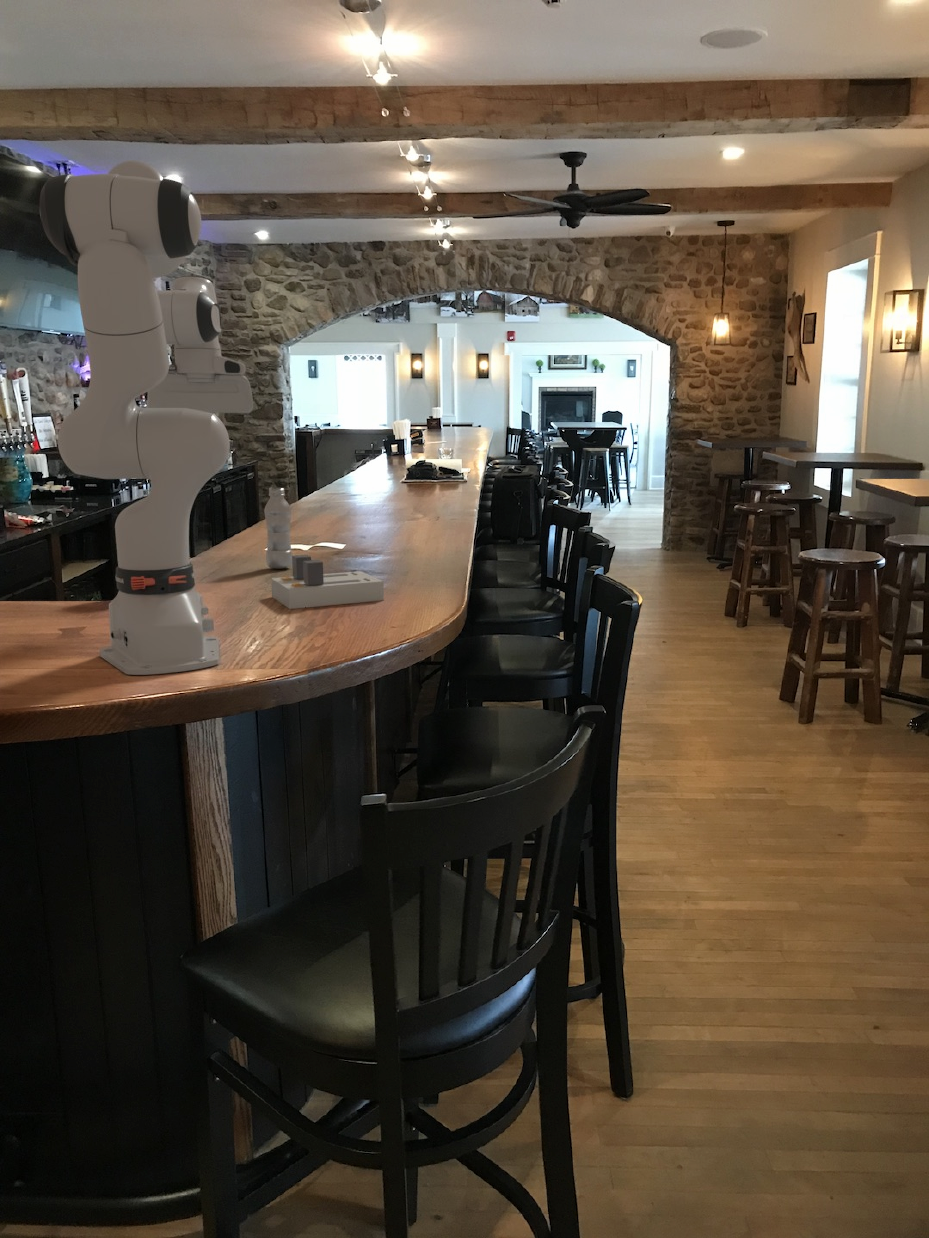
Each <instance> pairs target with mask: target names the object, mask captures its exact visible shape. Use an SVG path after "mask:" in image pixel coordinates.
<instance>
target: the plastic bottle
mask: <svg viewBox="0 0 929 1238" xmlns="http://www.w3.org/2000/svg"><path fill="white" fill-rule="evenodd" d="M268 496H269V500H268V501H267V502H266V504H265V507H264V511H263V512H264V517H265V523H266V524H265V525H266V530H267V548H266V549H267V550H266V555H265V561H266V562H265V563H266V565H267V567H268V568H270V569H275V570H283V569H284V570H285V569H286V568H287V569H288V568H290V567H292V556H294V554H293V551H292V547H291V545H292V543H291V535H290V534H291V533H290V530H291V518H292V517H291V516H292V508H291V506H290V503H288V501H287V500H286V498H285V496H286V493H285V488H284V487H270V488H268Z"/></svg>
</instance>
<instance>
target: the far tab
mask: <svg viewBox="0 0 929 1238" xmlns="http://www.w3.org/2000/svg"><path fill="white" fill-rule="evenodd" d="M310 560H312V556H310V555H308V554H299V555H293V556H292V565H291V567H292V577H294V578H296V579H304V574H303V561H310Z"/></svg>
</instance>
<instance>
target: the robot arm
mask: <svg viewBox="0 0 929 1238" xmlns="http://www.w3.org/2000/svg"><path fill="white" fill-rule="evenodd" d="M197 202H198V201H197V200H196V196H195V194H194V192H193V191H192V190H191V189H190V188H189V187H188V186H186V184H184V183H183V182H179V181H176V180H173V179H169V178H165V177H163V175H162V173H160V171H158V169H156V168H155V167H154V166H152V165H151V164H149V163H146V162H145V161H140V160H126V161H123V162H120V163H117V165H115V166H113V167H112V168H111V169H110V170H109V171H108V173H93V174H82V175H76V176H75V175H74V174H73V173H67V174H62V175H56V176H53V177H50V178H48V179H47V180H46V181H45V182H44V185H43V186H42V188H41V190H40V195H39V215H40V220H41V224H42V227H43V231H44V233H45V235H46V237H47V239H48V240H49V241H50V243H51V245H53V247H54V248H55V249H56V250H58V252H59V253H60V254H63V255H64V256H66V258H67V260H68V261H69V263H70V264H71V265H73V266H74V267H77V286H78V287H77V290H78V301H79V307H80V308H79V309H80V315H81V320H82V321H81V322H82V325H83V331H84V336H85V342H86V347H87V351H88V361H89V371H90V376H89V377H90V379H89V385H88V388H87V391H86V394H85V395H84V397H83V399H82V401H81V403H80V404H79V405H78V407H76V408H75V409H74V410H73V411H71V412H70V413H69V414H68V415H67V416H66V417H65V419H64V420H63V421H62V423H61V425H60V427H59V429H58V434H57V448H58V451H59V455H60V457H61V459H62V461H63V462H64V464H65V465H66V466H67V468H68V469H70V471H71V472H72V473H74V474H77V475H82V476H86V477H91V478H95V479H96V478H97V479H103V480H117V479H118V480H131V479H132V480H136V479H137V480H139V479H141V480H145V479H146V480H150V484H151V485H150V491H149V494H147V496H146V497H144V498H142V499H140V500H137V501H135V502H133V503H132V504H130V505H129V506H127V507H125V508H124V509H122V510H121V511H120V513H119V514H118V515H117V518H116V519H115V523H114V530H115V544H116V555H117V556H116V557H117V565H118V566H116V567H115V577H114V578H115V581H116V589H117V590H118V592H117V595H116V596H115V597H114V598H113V599H112V600H111V601H110V602H109V603H108V621H109V638H110V645H109V646H104V647H102V648H100V649H99V657H100V658H102V659H104V661H107V662H108V663H109V664H111V665H112V666H114V667H115V668H116V669H118V670H120V671H121V672H123V673H124V674H125V675H131V676H132V675H133V676H134V675H135V676H139V675H159V674H171V673H178V672H179V673H181V672H187V671H194V670H199V669H200V670H201V669H204V668H209V667H213V666H216V665H219V664H220V641H219V637H217V636H212V635H211V636H207V635H206V634H207V633H212V632H215V625H214V618H213V617H204V616H207V615H209V606H207V605H204V602H203V601H204V600H203V595H202V594H201V593H199V592H198V591H197V590H195V588H194V587H195V586H196V582H195V581H196V580H195V570H194V567H193V563H192V562H191V560H190V559H191V558H190V538H189V537H190V518H191V517H190V515H191V511H192V508H193V505H194V502H195V500H196V498H197V496H198V494H199V492H200V491H201V490H202V488H203V487H204V485H205V484H206V483H207V482H208V481H209V480H211V478H212V477H214V476H216V474H218V473H219V472H220V471H221V470H222V469H223V468H224V466H225V464H226V462H227V460H228V458H229V455H230V446H231V445H230V444H231V443H230V437H229V433H228V431H227V428H226V426H225V424H224V422H223V421H222V420H221V419H220V418H219V416H217V415H216V414H250V413H251V412H252V410H254V399H253V392H252V391H253V390H252V387H251V383H250V381H249V379H248V378H247V377H246V376H245V375H244V374H246V371H247V370H246V369H247V368H246V365H245V364H244V363H242V362H239V361H236V360H235V359H234V360H233V359H231V358H228V357H225V356H222V349H221V345H220V342H219V341H220V340H219V335H220V333H221V332H222V315H221V308H220V305H219V304H218V301H217V299H218V298H217V295H216V291H215V286H214V283H213V282H212V281H210V280H209V279H207V278H205V277H201V276H197V275H196V276H195V275H186V276H185V275H184V276H181V277H177V278H176V279H174V281H173V284H172V285H173V286H172V289H171V290H170V289H168V290H165V289H164V290H163V289H161V290H158V289H157V287H156V283H155V280H154V279H158V278H162V277H165V276H168V275H170V274H171V273H173V272H174V271H177V269H178V268H179V267H180V265H182V263H183V262H184V261H185V259H186V257H187V256H189V255H191V254H192V253H193V252H194V251H195V250H196V249H197V247H198V245H199V241H200V240H199V239H200V237H201V236H200V235H201V233H202V223H203V222H202V215H201V210H200V207H199V204H198V203H197ZM169 345H174V348H173V349H174V350H173V351H174V363H175V364H170V357H169V352H168V351H169V349H168V346H169ZM145 393H147V399H146V401H147V404H146V405H147V407H144V406H143V407H142V406H138V405H137V402H136V399H137V398H138V397H140V396H142V395H144V394H145ZM205 633H206V634H205Z"/></svg>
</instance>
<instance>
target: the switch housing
mask: <svg viewBox="0 0 929 1238" xmlns="http://www.w3.org/2000/svg"><path fill="white" fill-rule="evenodd" d="M323 580H324V584H318V585H307V584H305V583H304V579H296V578H294V577H293V576H284V577H283V576H282V577H272V578H270V582H271V597H272V598H273V599H274V600H276V601H278V602H279V603H280V604H281V605H284V606H285V607H286V608H288V609H289V610H293V609H304V608H305V607H306V608H314V607H315V608H316V607H326V606H337V605H344V604H347V605H348V604H357V603H359V604H360V603H367V602H380V601H384V600H385V598H384V596H385V595H384V593H385V591H384V589H385V588H384V580H381V579H379V578H376V577H374V576H372V575H370V574H368V573H365V572H363V571H362V570H358V571H357V570H356V571H348V572H332V573H323Z"/></svg>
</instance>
